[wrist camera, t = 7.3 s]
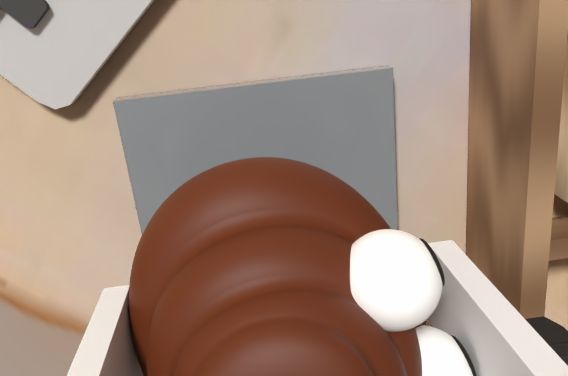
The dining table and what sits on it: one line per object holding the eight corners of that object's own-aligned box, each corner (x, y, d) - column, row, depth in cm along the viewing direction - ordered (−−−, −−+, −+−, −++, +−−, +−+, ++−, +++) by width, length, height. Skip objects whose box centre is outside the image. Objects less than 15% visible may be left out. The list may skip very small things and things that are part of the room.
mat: (117, 97, 21) (113, 101, 20) (387, 65, 22) (392, 68, 21) (166, 328, 25) (164, 338, 24) (394, 295, 26) (399, 305, 25)
